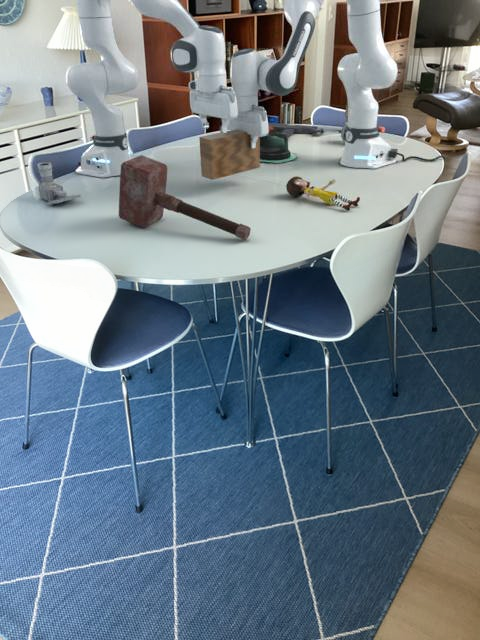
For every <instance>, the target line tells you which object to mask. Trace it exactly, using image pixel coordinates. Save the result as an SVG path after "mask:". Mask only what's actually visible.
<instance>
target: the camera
mask: <svg viewBox="0 0 480 640" xmlns="http://www.w3.org/2000/svg"><path fill="white" fill-rule="evenodd" d="M37 169H38V172H39V174H40V179H41V182H39V183H38V186H37V187H38V194H39V198H40V199H42V200H45V201H47V205H53V204H60V203H63V202H67V201H70V200H75V199H78V198H81V197H82V196H81V195H80V194H73V195H68V194H67V192H66V190H64V186H62V185H61V184H59V183H55V181H54V177H53V166H52V163H51V162H50V161H43V162H39V163H37ZM67 195H68V196H67Z"/></svg>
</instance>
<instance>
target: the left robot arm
mask: <svg viewBox="0 0 480 640" xmlns="http://www.w3.org/2000/svg"><path fill="white" fill-rule="evenodd" d="M128 1H129V2H130V4H131V5H132V7H133V8H135V9H136V10H137V12H139V13H140V14H141V15H143V16H146V17H149V18H154V19H157V20H161V21H163V22H166V23H168V24H170V25H172V26H173V27H174V28H176V30H177V31H178V32H179V33H180V34H181V36H182V38H180V39H177V40H175V41H174V42H173V44H172V46H171V49H170V60H171V63H172V65H173V67H174V68H175V69H176V70H177V71H178V72H181V73H192V72H194V73H195V72H197V78H195V79H194V80H191V81H190V82H188V90H189V107H190V110H191V112H192V113H193V114H198V118H199V120H200V123H201V128H202V129H204V130H208V129H209V128H210V123H209V122H208V120H207V117H208V116H209V117H213V118H218V119H221V126H219V133H227V131H228V130H227V126H228V124H229V122H230V119H235V118H237V115H238V109H237V100H236V96H235V92H234V91H233V89H232V86H227V85H228V84H227V70H226V67H225V65H226V59H227V57H226V56H227V55H226V43H225V36H224V33H223V31H222V30H221V28H219V27H217V26H213V25H200V23H199V22H198V21H197V20H196V19H195V18H194V16H193V15H192V14H191V13H190V12H189V10H188V9H187V8H186V7H185V6H184V5H183V3H182V2H180V0H128ZM76 3H77V5H76V6H77V15H78V23H79V29H80V36H81V41H82V43H83V45H84V46H85V47H87V48H88V49H89V50H92V51H93V52H96V53H98V54H99V56H100V58H101V60H99V61H88V62H80V63H76V64H73V65H70V66H69V67H68V69H67V71H66V74H65V81H66V85H67V87H68V89H69V90H70V92H71V93H72V94H74V96H76V97H78V98H79V99H80V100H82V101H83V103H85V105H86V106H87V108H88V109H89V111H90V114H91V117H92V122H93V126H94V132H95V134H93V135H92V136H90V137H89V141H92V145H91V146H90V147H88V148H87V149H86V150H85V151H84V152H83V153H82V154H81V157H80V159H79V161H78V162H77V165H79V167H77V168H76V169H75V174H79V175H85V176H90V177H97V178H111V177H116V176H120V173H121V164H122V163H123V162H125V161H128V160H130V159H131V156H130V155H131V152H130V151H129V142H128V135H127V132H126V126H125V119H124V118H125V117H124V112H123V111H122V110H121V108H120V107H118V106H116V105H114V104H112V103H109V102H107V100H106V97H105V96H106V95H116V94H125V93H129V92H131V91H133V90H136V88H137V86H138V83H139V81H140V79H139V78H140V77H139V72H138V70H137V68H136V66H135V64H133V62H132V61H130V60H129V59H127V58H126V57H125V56H124V54H123V53H122V52H121V50H120V49H119V46H118V45H117V41H116V36H115V31H114V25H113V17H112V9H111V0H76ZM222 122H223V124H222Z"/></svg>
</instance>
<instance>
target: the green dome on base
mask: <svg viewBox="0 0 480 640" xmlns="http://www.w3.org/2000/svg"><path fill="white" fill-rule="evenodd" d="M296 158H297V155H296V154H295V153H293V152H291V150H290V149H289V137H288V136H287V135H286V134H284V133H282V132H268V134H267V135H266V136H262V137H260V162H266V163H276V164H280V163H281V164H282V163H285V162H290V161H292V160H293V161H294V160H296Z"/></svg>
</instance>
